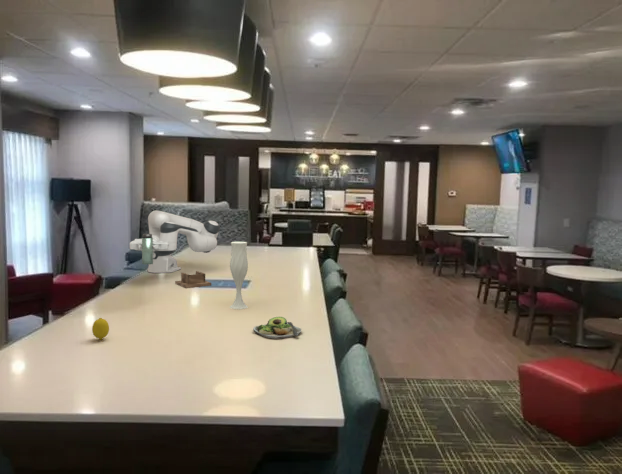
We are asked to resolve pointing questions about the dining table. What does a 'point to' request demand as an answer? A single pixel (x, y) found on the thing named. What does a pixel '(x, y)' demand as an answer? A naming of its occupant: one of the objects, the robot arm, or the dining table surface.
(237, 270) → the vase
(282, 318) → the salad plate
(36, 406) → the dining table surface
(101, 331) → the lemon
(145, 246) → the flask
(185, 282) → the u rest
